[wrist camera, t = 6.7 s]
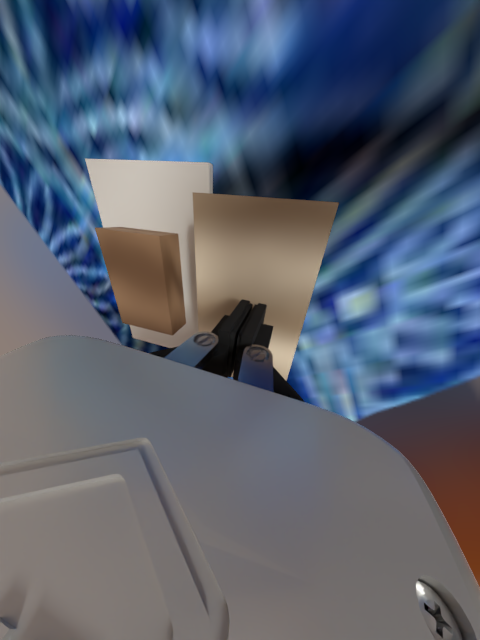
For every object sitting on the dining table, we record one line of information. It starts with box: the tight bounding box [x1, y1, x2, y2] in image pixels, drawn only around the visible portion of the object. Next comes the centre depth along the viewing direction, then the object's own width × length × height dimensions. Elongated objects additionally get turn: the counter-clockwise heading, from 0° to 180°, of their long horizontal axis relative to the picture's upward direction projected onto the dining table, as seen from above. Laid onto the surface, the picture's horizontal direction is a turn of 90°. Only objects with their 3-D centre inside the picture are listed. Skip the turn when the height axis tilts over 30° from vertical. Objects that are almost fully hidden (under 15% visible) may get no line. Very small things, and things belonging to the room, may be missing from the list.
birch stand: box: [193, 192, 339, 380], centre depth 15 cm, size 14×8×4 cm, turn 175°
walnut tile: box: [95, 227, 186, 336], centre depth 17 cm, size 9×6×2 cm, turn 175°
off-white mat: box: [85, 159, 213, 348], centre depth 19 cm, size 18×11×1 cm, turn 175°
